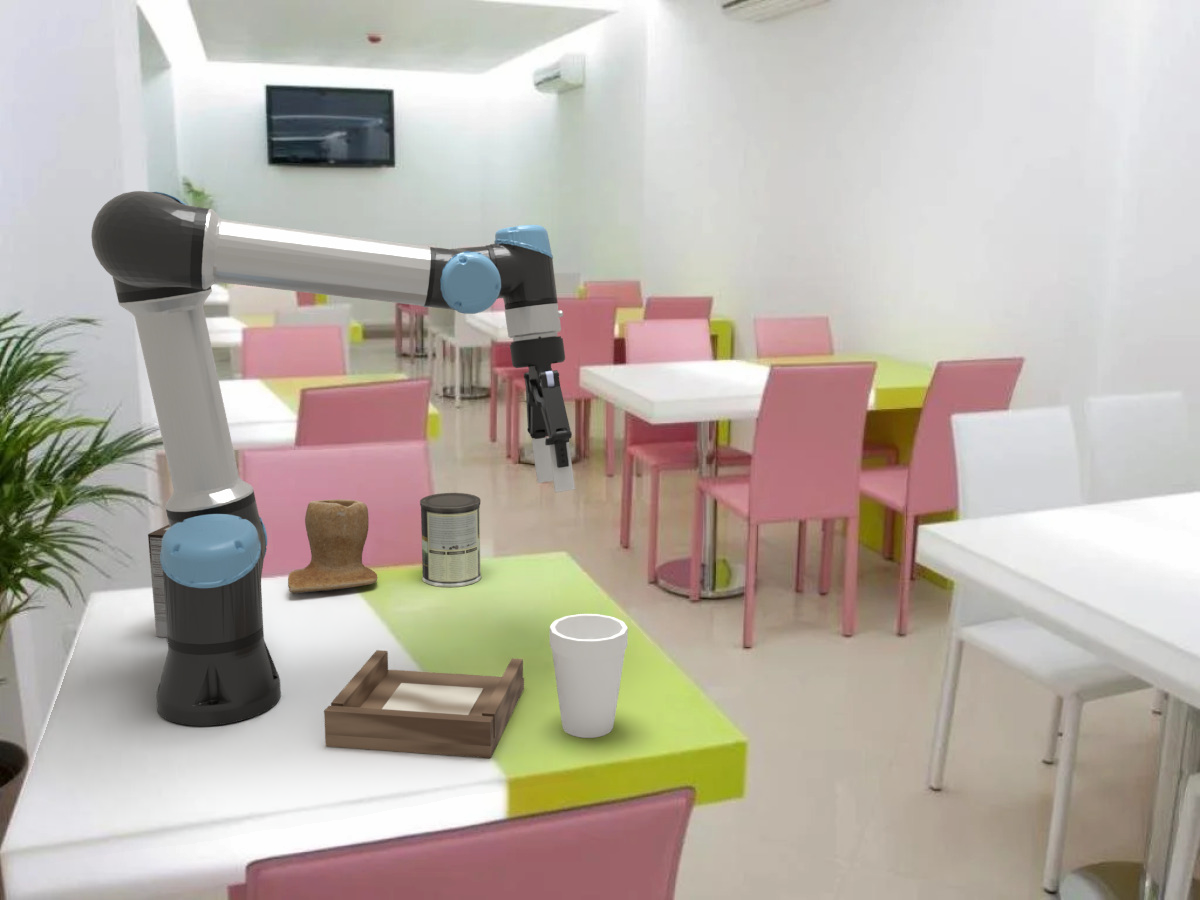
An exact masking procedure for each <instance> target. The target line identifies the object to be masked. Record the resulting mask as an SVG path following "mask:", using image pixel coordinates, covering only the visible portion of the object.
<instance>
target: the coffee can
mask: <svg viewBox="0 0 1200 900" xmlns="http://www.w3.org/2000/svg"><path fill="white" fill-rule="evenodd" d="M419 506H420V516H421V517H420V522H421V524H420V525H421V526H420V527H421V528H420V529H421V557H422V558H421V560H422V561H421V562H422V564H421V565H422V568H421V569H422V577H421V579H422V582H424V583H425V584H427V585H429V586H433V587H439V588H459V587H465V586H470V585H473V584H475V583H478V582H479V581H480V580H481V579H482V574H481V573H482V572H481V514H480V513H481V508H480V507H481V498H480V497H479V496H476V495H475V494H470V493H463V492H444V493H443V492H442V493H436V494H435V493H434V494H431V495H427V496H425V497H423V498H421V499H420V500H419Z"/></svg>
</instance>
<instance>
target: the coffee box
mask: <svg viewBox="0 0 1200 900" xmlns="http://www.w3.org/2000/svg"><path fill="white" fill-rule="evenodd" d="M169 528H170V526H169V524H166V525H165V526H163V527H160V528H159V529H157V530H154V531H152V532H150V533H148V534H147V537H148V538H147V539H148V540H147V541H148V552H149V561H150V562H149V563H150V575H151V576H150V577H151V588H152V601H153V602H152V603H153V610H154V611H153V612H154V623H155V624H154V625H155V635H156V637H158V638H167V625H166V610H165V596H164V581H163V569H162V565H161V562H160V553H161V549H162V538H163V536H164V534H165V532H166V531H167V530H168V529H169Z"/></svg>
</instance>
